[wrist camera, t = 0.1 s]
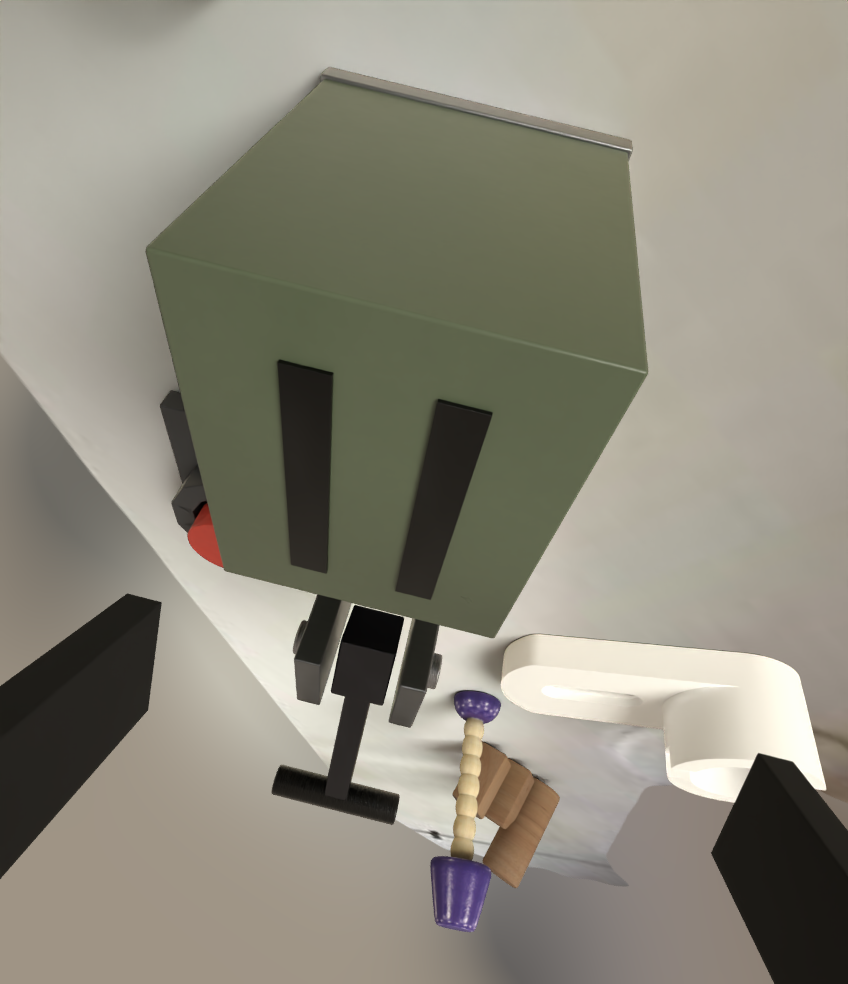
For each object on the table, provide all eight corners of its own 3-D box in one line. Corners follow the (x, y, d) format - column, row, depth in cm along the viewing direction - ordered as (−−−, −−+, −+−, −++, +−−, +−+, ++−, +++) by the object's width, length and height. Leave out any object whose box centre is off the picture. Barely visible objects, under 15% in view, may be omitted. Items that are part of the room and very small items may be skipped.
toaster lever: (397, 796, 29) (389, 842, 27) (283, 767, 29) (265, 810, 27) (448, 627, 24) (444, 667, 22) (310, 593, 24) (292, 629, 22)
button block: (170, 389, 28) (140, 430, 27) (325, 428, 28) (305, 471, 26) (202, 509, 36) (180, 547, 34) (323, 539, 36) (308, 579, 34)
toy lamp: (493, 689, 49) (465, 928, 38) (516, 710, 52) (496, 939, 41) (446, 691, 51) (407, 917, 41) (469, 711, 54) (439, 928, 43)
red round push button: (195, 490, 30) (180, 516, 29) (275, 511, 30) (263, 537, 29) (207, 537, 33) (194, 561, 32) (280, 555, 33) (269, 580, 32)
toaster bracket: (470, 547, 34) (434, 754, 26) (340, 514, 34) (267, 711, 26) (516, 429, 26) (483, 674, 18) (346, 387, 26) (246, 614, 19)
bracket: (818, 659, 36) (849, 773, 31) (779, 712, 42) (800, 812, 38) (499, 630, 41) (488, 724, 36) (507, 681, 47) (499, 766, 43)
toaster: (327, 66, 17) (131, 243, 10) (632, 139, 17) (659, 374, 10) (324, 366, 25) (219, 575, 18) (524, 415, 25) (495, 645, 18)
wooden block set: (475, 718, 62) (422, 807, 57) (548, 759, 57) (496, 861, 52) (505, 777, 74) (463, 855, 69) (567, 815, 69) (526, 902, 64)
